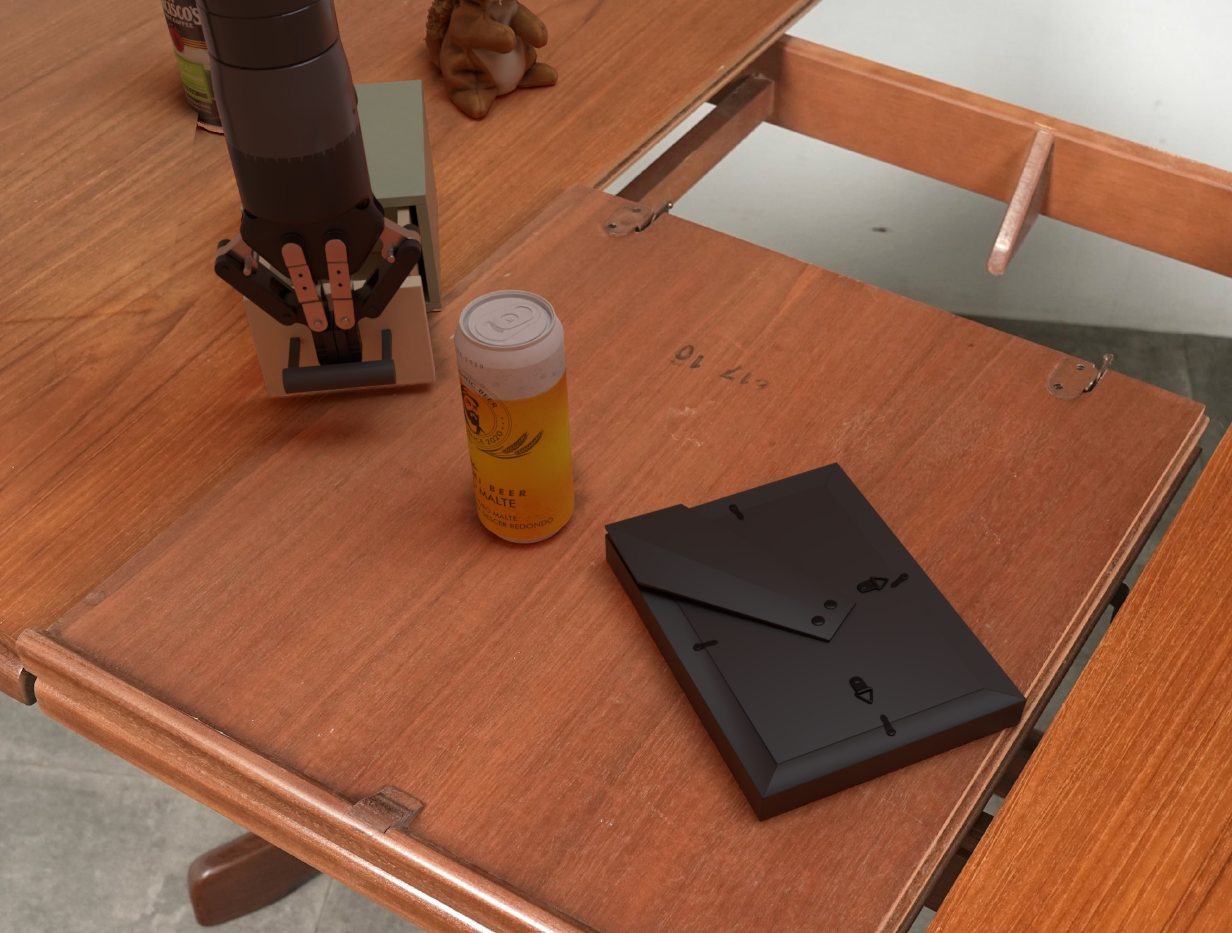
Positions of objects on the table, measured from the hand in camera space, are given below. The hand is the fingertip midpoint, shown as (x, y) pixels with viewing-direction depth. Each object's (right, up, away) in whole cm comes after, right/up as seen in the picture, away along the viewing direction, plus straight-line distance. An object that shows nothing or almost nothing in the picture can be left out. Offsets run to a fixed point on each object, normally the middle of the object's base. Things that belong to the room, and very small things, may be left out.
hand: (343, 367), depth 89 cm
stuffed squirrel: (+6, +33, +35) cm, 49 cm away
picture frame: (+28, -17, -10) cm, 35 cm away
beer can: (+12, -10, -3) cm, 16 cm away
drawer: (-1, +3, +8) cm, 8 cm away
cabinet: (-2, +12, +17) cm, 21 cm away
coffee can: (-15, +29, +33) cm, 46 cm away
